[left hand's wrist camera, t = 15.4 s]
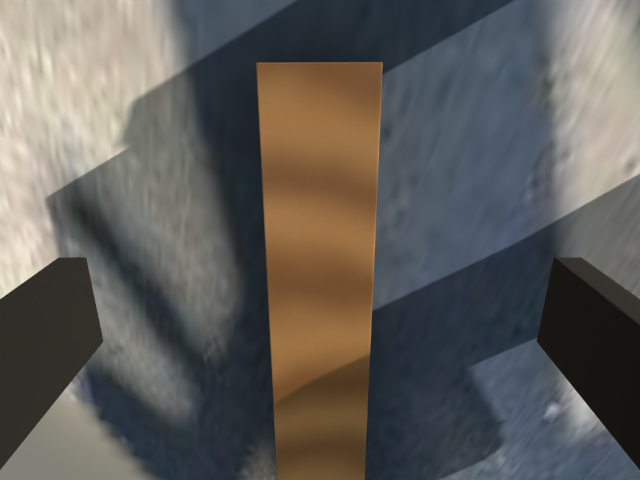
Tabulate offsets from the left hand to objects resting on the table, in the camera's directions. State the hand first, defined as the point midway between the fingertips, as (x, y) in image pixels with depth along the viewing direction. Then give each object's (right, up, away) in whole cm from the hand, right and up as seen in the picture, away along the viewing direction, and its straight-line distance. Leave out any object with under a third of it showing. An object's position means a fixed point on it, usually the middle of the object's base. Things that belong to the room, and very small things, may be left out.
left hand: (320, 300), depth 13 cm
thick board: (0, -9, +35) cm, 36 cm away
